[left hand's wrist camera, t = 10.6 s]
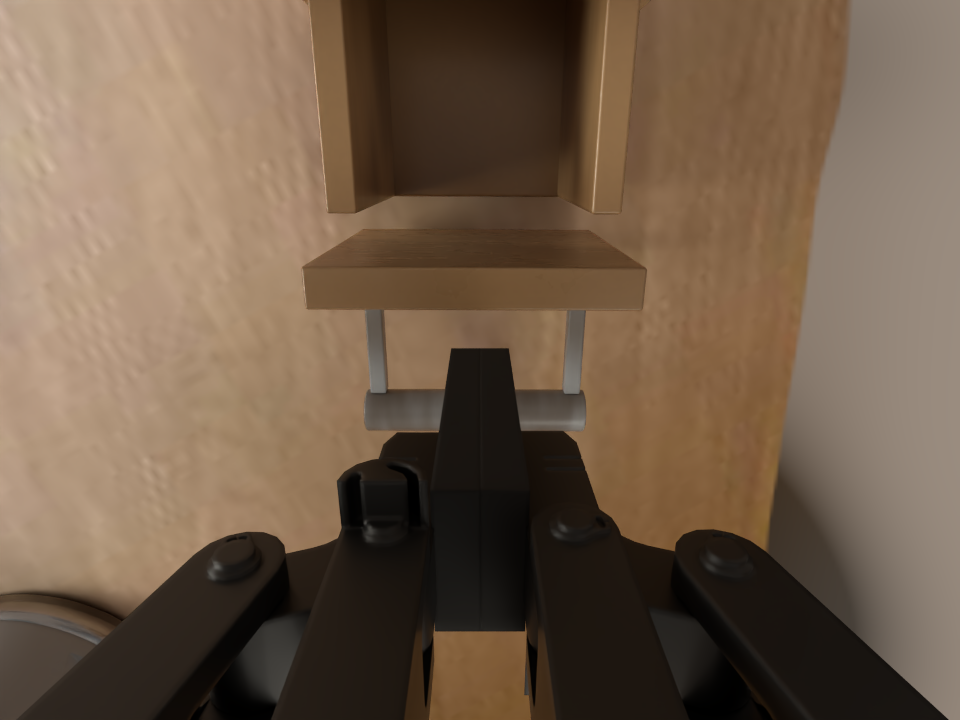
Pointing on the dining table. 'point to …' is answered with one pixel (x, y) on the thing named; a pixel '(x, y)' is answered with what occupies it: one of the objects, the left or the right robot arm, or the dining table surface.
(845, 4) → the dining table surface
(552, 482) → the left robot arm
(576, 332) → the drawer
